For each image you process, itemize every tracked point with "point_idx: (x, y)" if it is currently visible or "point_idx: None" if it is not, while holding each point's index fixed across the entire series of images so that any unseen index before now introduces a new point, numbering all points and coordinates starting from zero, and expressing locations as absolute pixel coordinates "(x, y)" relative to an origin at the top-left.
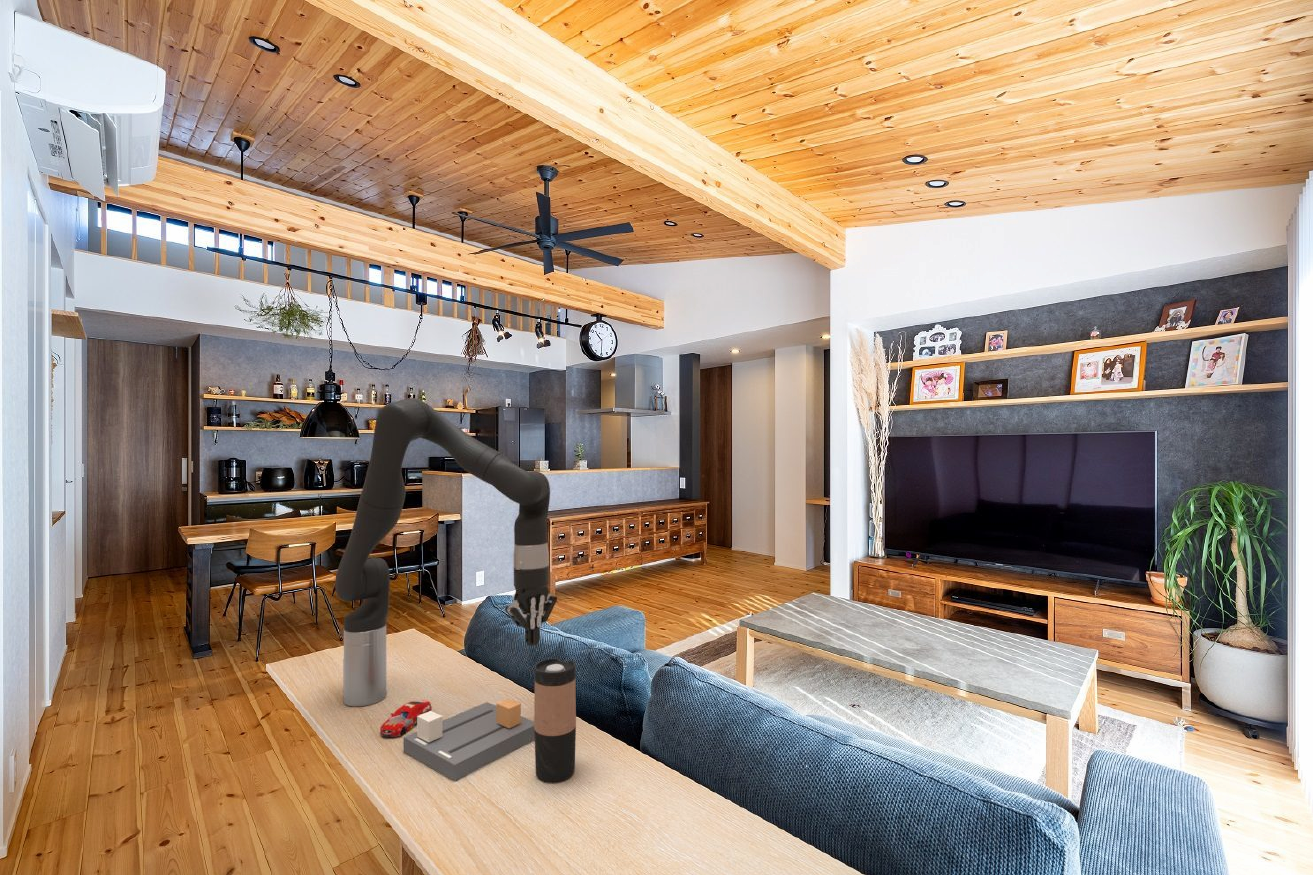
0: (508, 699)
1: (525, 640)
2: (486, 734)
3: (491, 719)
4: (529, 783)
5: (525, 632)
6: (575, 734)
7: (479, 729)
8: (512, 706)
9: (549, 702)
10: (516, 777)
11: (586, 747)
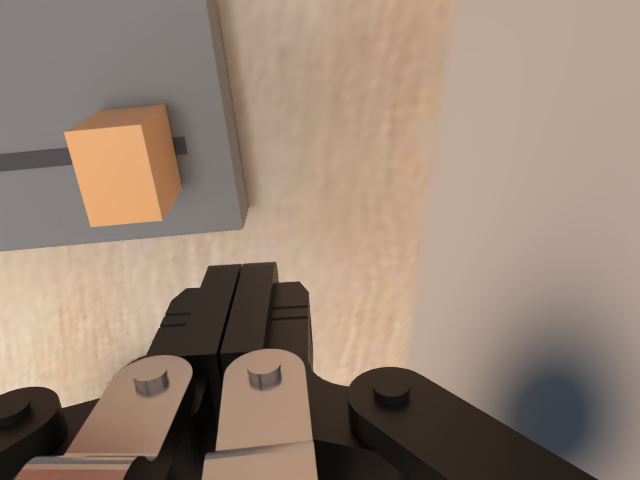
0: (136, 135)
1: (170, 305)
2: (25, 160)
3: (103, 45)
4: (83, 390)
5: (148, 356)
6: None
7: (18, 93)
8: (114, 217)
9: None
10: (66, 346)
11: (323, 362)
